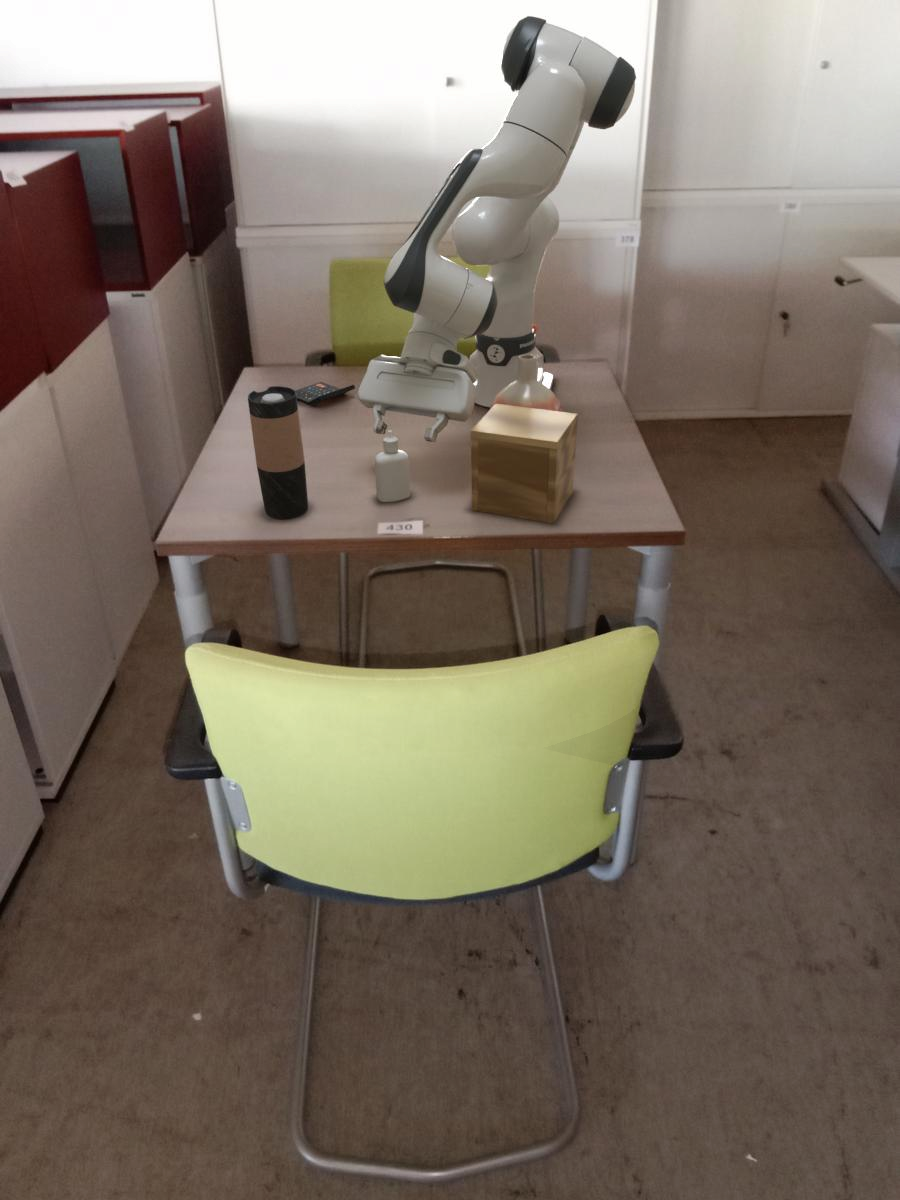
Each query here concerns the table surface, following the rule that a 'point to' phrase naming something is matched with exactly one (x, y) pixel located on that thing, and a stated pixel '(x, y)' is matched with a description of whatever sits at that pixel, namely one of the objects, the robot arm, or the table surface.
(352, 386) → the calculator
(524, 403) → the vase
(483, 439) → the plywood crate
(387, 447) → the eye dropper bottle
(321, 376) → the table surface
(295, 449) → the travel mug
